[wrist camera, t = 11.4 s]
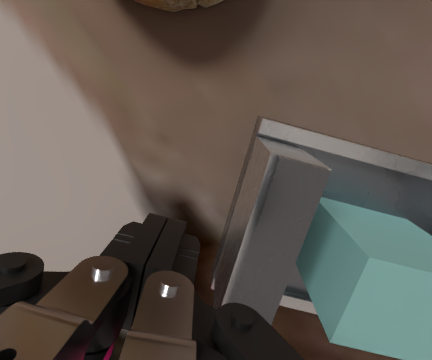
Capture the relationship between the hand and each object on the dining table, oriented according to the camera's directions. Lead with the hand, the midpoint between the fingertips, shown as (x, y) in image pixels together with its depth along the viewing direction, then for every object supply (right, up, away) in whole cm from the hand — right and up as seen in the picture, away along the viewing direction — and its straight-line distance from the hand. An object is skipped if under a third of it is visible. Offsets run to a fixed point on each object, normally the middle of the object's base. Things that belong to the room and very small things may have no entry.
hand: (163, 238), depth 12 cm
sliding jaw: (+4, 0, +6) cm, 7 cm away
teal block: (+10, -1, +6) cm, 12 cm away
